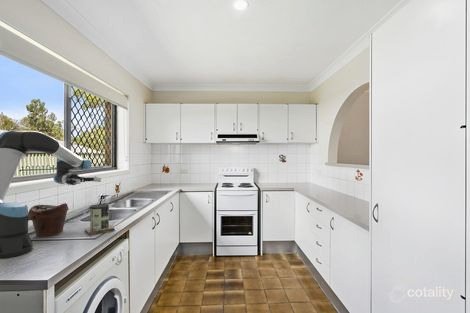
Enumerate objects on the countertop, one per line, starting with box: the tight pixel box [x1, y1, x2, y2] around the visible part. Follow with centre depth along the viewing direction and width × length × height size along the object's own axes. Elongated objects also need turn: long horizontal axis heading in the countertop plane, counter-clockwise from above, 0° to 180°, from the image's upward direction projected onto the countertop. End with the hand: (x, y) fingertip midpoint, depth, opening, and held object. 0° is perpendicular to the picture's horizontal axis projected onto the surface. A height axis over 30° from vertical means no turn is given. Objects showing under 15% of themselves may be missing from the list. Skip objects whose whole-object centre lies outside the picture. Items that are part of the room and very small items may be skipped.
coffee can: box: [89, 203, 110, 231], centre depth 154 cm, size 10×10×14 cm
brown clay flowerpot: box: [28, 202, 70, 237], centre depth 149 cm, size 18×20×18 cm
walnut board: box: [84, 224, 116, 236], centre depth 154 cm, size 14×11×2 cm
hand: (90, 180), depth 161 cm, fingers open, 13 cm apart
